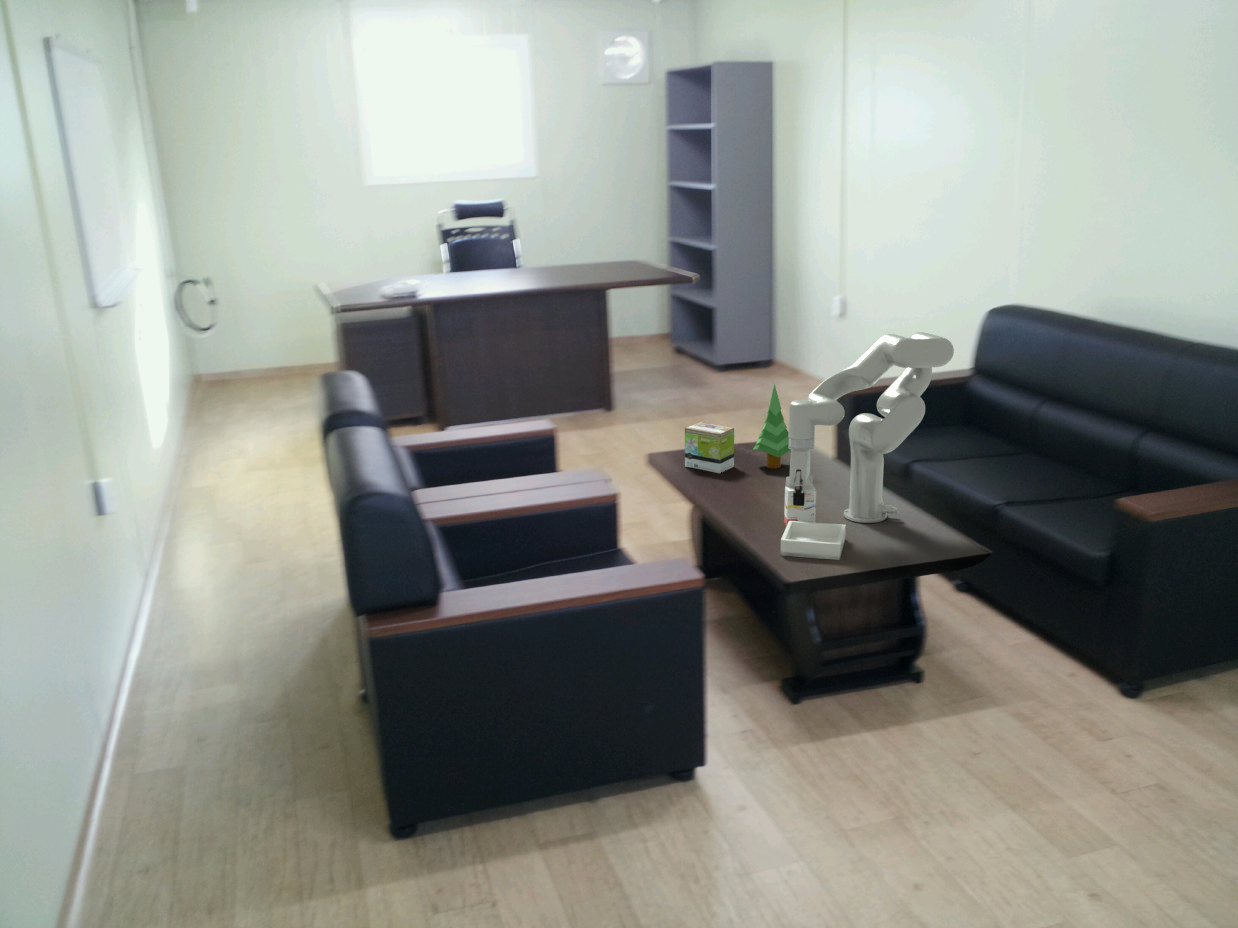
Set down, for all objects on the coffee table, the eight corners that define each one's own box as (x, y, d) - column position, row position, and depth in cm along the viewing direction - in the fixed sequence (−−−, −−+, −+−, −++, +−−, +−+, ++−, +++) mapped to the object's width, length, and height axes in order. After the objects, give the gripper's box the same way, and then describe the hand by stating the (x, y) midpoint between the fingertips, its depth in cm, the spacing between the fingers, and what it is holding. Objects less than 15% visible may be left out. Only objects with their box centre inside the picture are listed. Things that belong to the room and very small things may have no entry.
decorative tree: (787, 459, 374) (788, 377, 366) (797, 471, 359) (799, 387, 351) (750, 461, 373) (750, 379, 365) (759, 473, 358) (759, 389, 350)
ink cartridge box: (786, 528, 305) (787, 481, 301) (783, 523, 310) (784, 476, 305) (815, 527, 305) (817, 480, 301) (812, 522, 310) (813, 475, 306)
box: (845, 539, 295) (845, 524, 294) (839, 559, 280) (840, 544, 279) (788, 535, 300) (789, 520, 298) (780, 555, 285) (780, 539, 284)
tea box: (683, 467, 369) (683, 427, 364) (699, 460, 376) (698, 421, 372) (720, 474, 360) (719, 432, 356) (735, 467, 367) (735, 426, 363)
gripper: (792, 434, 309) (791, 492, 314) (784, 450, 293) (783, 510, 298) (817, 435, 307) (816, 493, 312) (810, 451, 291) (809, 511, 296)
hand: (800, 501), depth 305 cm, fingers closed on ink cartridge box, 6 cm apart
